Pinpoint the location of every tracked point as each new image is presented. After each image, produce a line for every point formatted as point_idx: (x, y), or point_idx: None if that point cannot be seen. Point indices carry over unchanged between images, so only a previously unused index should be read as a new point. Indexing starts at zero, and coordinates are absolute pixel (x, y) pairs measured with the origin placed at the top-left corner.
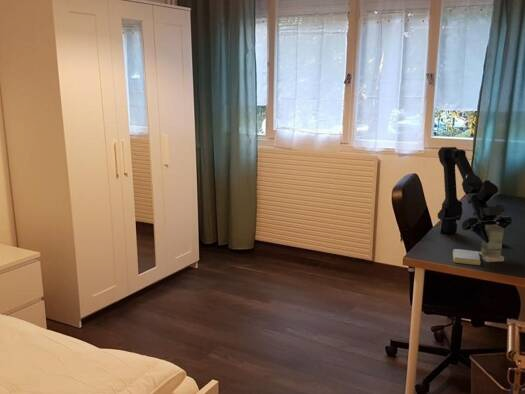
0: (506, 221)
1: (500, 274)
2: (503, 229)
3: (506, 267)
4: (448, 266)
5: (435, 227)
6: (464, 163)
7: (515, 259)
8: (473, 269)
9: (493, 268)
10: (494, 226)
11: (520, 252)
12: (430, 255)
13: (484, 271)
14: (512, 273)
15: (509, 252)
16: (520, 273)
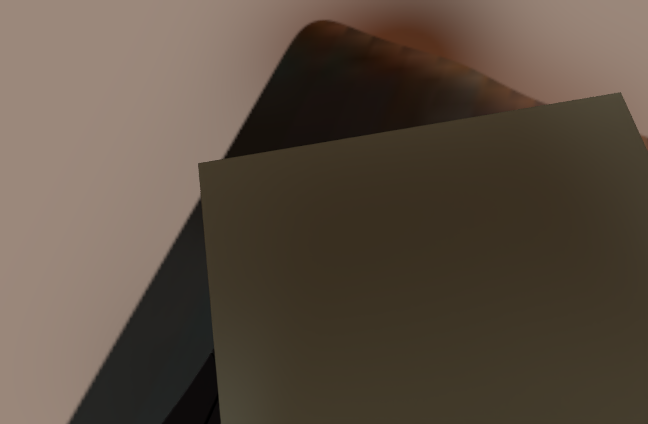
0: None
1: (388, 44)
2: (222, 177)
3: (315, 133)
4: (641, 135)
5: None
6: None
7: (191, 265)
8: (509, 99)
9: (394, 116)
10: (444, 405)
11: (69, 420)
12: None
13: (457, 76)
14: (321, 57)
15: (153, 416)
16: (280, 59)
